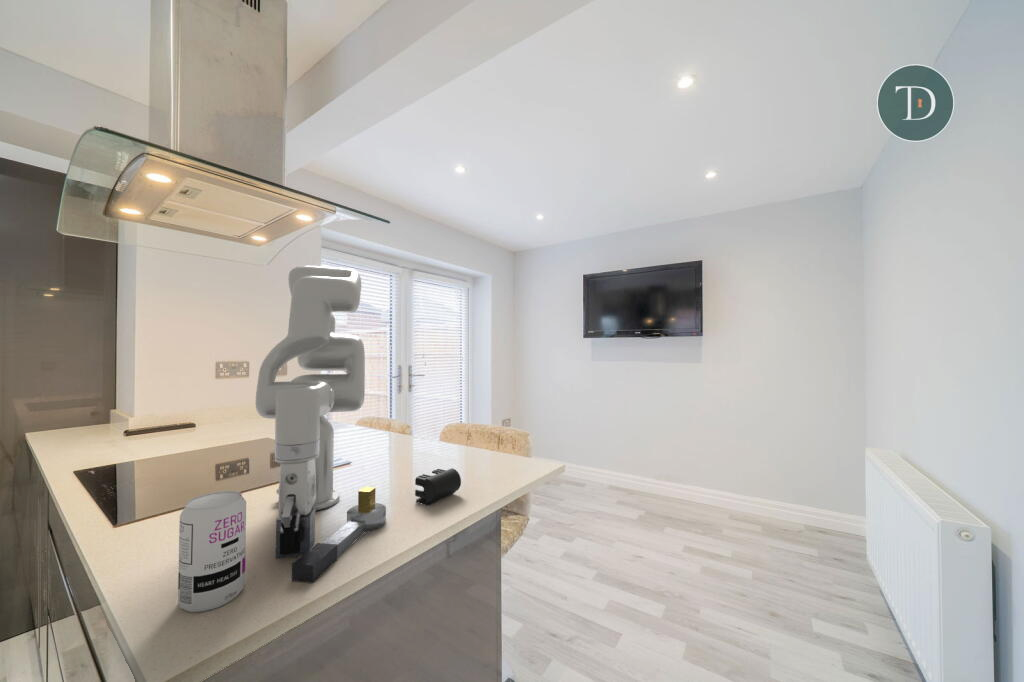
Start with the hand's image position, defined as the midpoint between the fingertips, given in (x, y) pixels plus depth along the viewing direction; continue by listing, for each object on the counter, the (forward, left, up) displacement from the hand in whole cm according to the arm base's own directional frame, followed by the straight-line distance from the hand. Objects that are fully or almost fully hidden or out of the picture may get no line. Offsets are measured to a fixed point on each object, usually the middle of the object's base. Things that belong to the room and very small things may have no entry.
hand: (296, 540), depth 75 cm
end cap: (+19, +28, -2) cm, 34 cm away
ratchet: (+8, +3, -2) cm, 9 cm away
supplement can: (-3, -15, -2) cm, 15 cm away
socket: (0, 0, -2) cm, 2 cm away
